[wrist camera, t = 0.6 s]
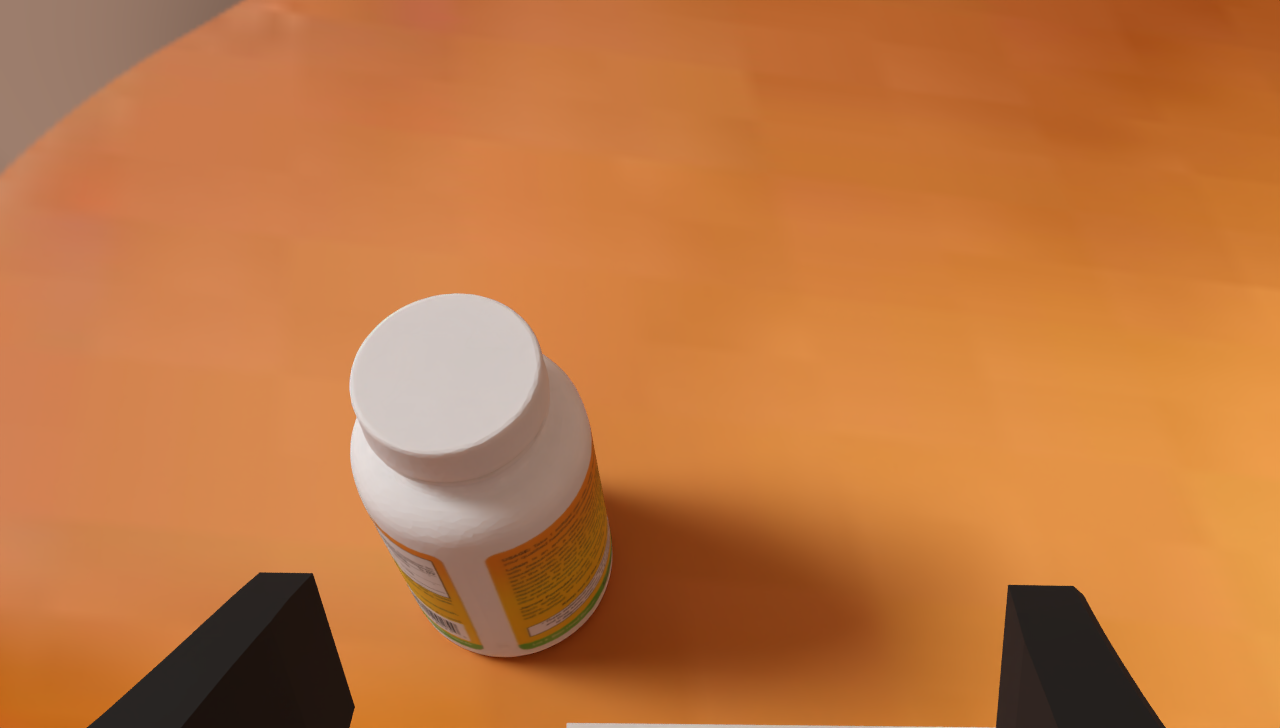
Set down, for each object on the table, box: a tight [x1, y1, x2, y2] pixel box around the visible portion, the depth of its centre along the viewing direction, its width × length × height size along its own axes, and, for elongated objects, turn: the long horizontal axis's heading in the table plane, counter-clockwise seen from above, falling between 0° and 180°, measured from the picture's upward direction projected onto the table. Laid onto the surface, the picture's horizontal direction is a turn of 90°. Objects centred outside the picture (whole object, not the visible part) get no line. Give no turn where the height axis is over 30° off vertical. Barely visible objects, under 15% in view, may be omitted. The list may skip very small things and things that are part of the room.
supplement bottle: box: [350, 293, 612, 657], centre depth 29 cm, size 5×5×10 cm
